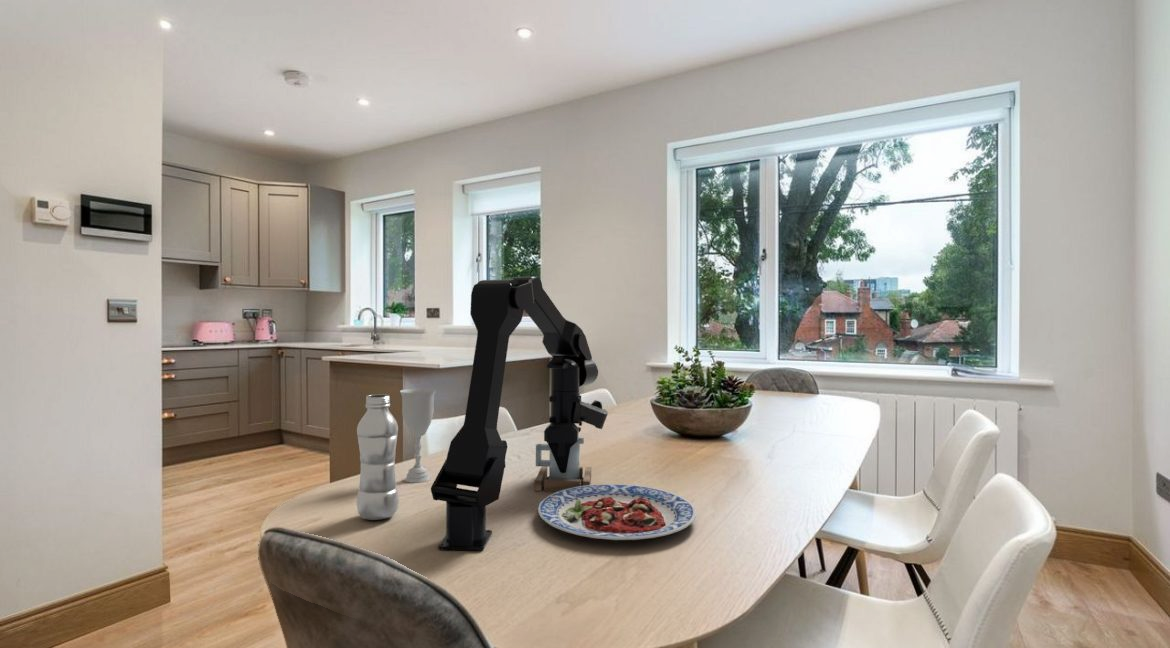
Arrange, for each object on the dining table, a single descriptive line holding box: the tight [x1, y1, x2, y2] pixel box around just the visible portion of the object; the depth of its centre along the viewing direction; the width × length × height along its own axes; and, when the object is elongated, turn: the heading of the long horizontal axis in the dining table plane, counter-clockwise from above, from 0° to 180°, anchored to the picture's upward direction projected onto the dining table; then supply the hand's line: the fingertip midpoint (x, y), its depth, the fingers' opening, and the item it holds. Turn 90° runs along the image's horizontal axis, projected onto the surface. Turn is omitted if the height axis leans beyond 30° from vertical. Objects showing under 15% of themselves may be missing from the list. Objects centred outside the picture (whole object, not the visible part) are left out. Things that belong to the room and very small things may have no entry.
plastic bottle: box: [356, 394, 400, 521], centre depth 92 cm, size 6×7×20 cm
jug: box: [535, 437, 585, 480], centre depth 112 cm, size 6×10×9 cm, turn 87°
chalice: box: [399, 388, 437, 484], centre depth 114 cm, size 7×7×18 cm
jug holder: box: [534, 466, 592, 492], centre depth 112 cm, size 10×10×2 cm
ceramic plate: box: [537, 483, 697, 541], centre depth 92 cm, size 26×26×3 cm
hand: (564, 468), depth 112 cm, fingers closed on jug, 6 cm apart
